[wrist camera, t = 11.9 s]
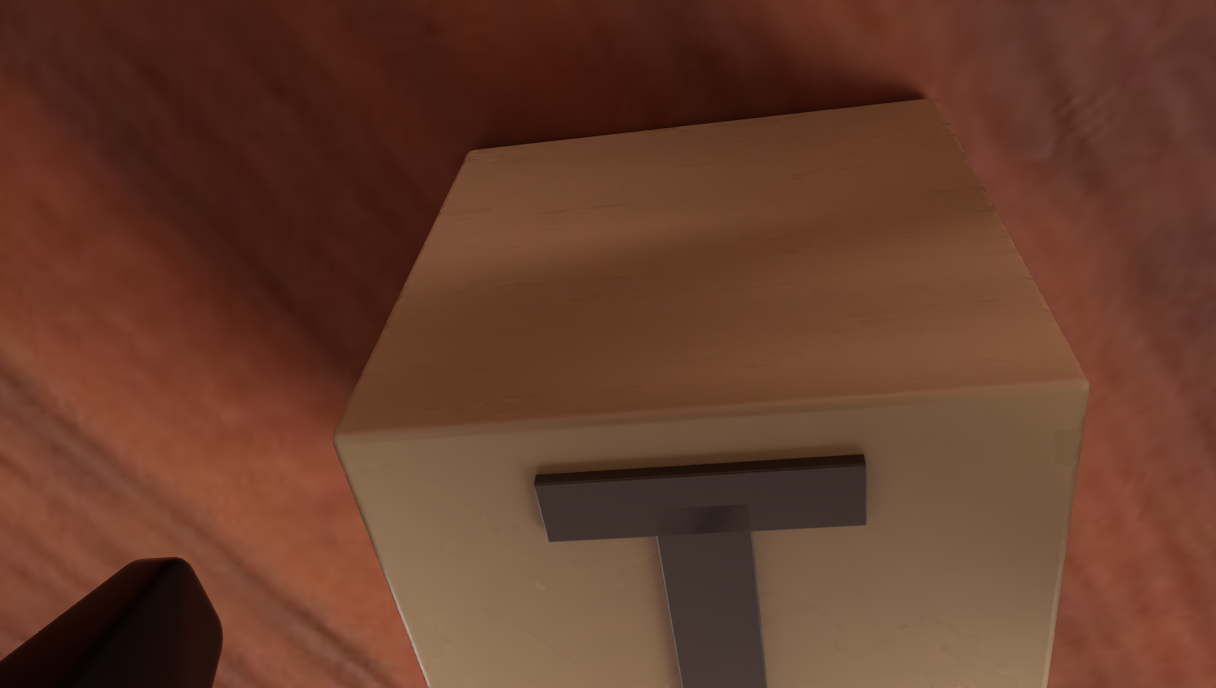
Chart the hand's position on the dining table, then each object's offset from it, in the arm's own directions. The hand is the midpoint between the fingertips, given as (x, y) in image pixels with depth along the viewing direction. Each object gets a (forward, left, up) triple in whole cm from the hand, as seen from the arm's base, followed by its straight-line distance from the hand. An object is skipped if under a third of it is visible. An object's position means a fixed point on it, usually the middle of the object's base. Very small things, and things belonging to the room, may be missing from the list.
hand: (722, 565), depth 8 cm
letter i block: (0, 0, -4) cm, 4 cm away
